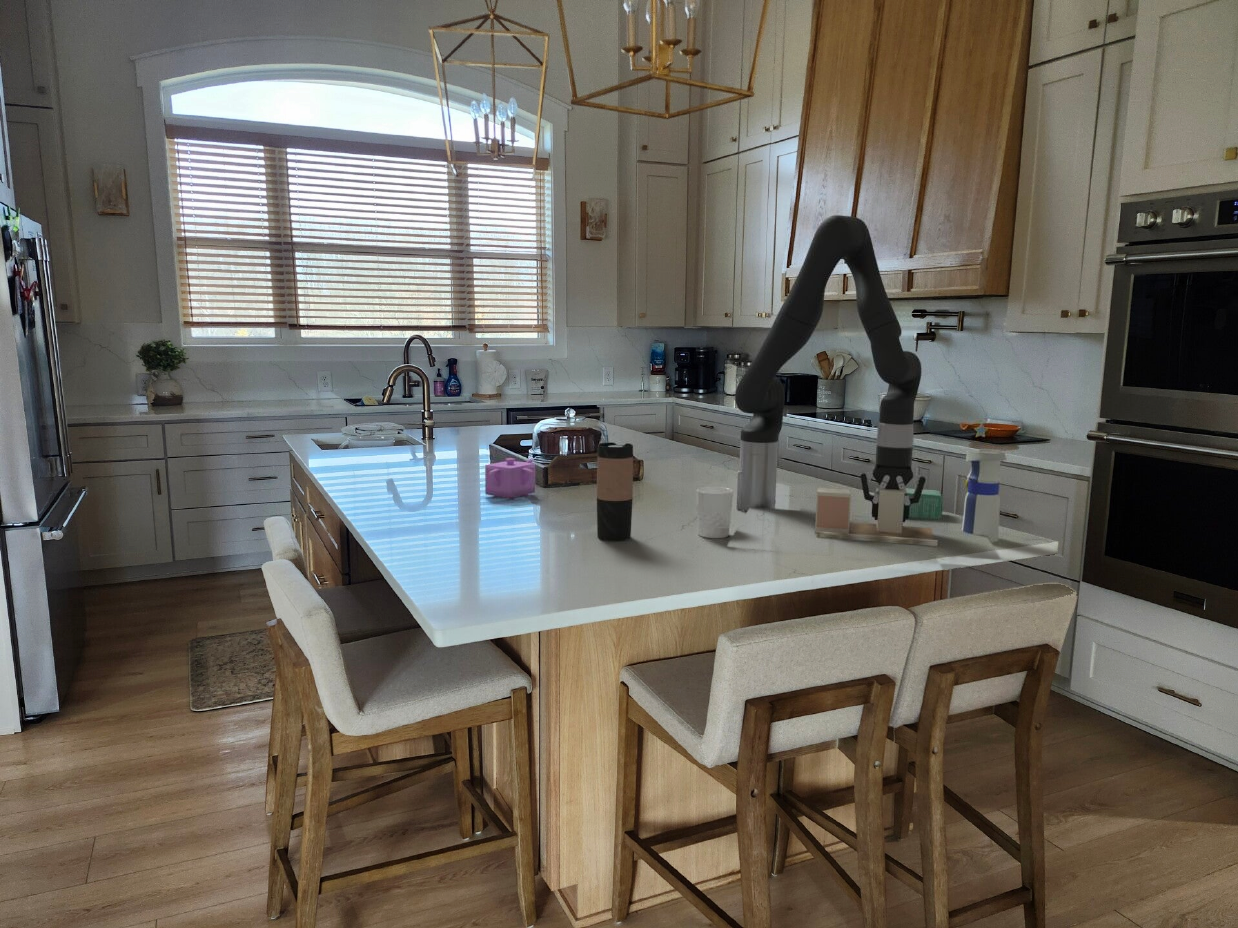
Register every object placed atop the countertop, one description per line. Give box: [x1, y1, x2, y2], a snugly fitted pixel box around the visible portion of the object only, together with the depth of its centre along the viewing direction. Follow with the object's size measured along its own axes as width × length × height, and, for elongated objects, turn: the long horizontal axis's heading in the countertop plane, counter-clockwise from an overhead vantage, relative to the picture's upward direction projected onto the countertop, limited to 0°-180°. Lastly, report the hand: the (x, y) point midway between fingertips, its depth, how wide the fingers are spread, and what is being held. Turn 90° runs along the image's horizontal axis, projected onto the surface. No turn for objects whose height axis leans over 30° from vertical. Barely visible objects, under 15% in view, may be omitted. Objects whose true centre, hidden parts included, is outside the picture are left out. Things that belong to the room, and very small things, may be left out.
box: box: [905, 487, 944, 520], centre depth 207 cm, size 7×14×8 cm, turn 77°
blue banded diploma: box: [961, 422, 1007, 543], centre depth 188 cm, size 8×9×25 cm
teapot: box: [484, 457, 536, 501], centre depth 228 cm, size 18×14×10 cm
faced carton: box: [814, 487, 852, 534], centre depth 187 cm, size 7×5×9 cm
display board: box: [816, 521, 939, 547], centre depth 188 cm, size 24×17×2 cm
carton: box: [876, 488, 905, 533], centre depth 190 cm, size 7×5×9 cm
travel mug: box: [596, 442, 634, 542], centre depth 184 cm, size 8×8×20 cm
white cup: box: [696, 486, 734, 539], centre depth 188 cm, size 8×8×10 cm
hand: (889, 520), depth 191 cm, fingers closed on carton, 5 cm apart
